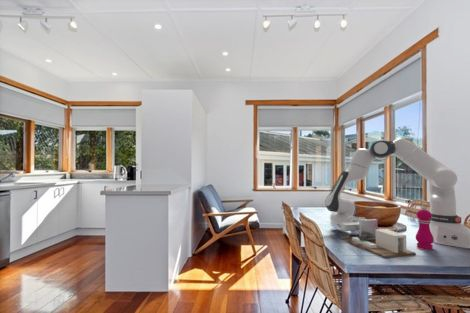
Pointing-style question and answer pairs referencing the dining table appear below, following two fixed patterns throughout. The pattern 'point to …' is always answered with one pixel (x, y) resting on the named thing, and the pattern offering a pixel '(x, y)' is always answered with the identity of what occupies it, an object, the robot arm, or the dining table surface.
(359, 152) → the robot arm
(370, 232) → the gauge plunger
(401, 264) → the dining table surface
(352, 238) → the gauge scale
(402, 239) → the block
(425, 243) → the pepper mill
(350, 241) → the board
